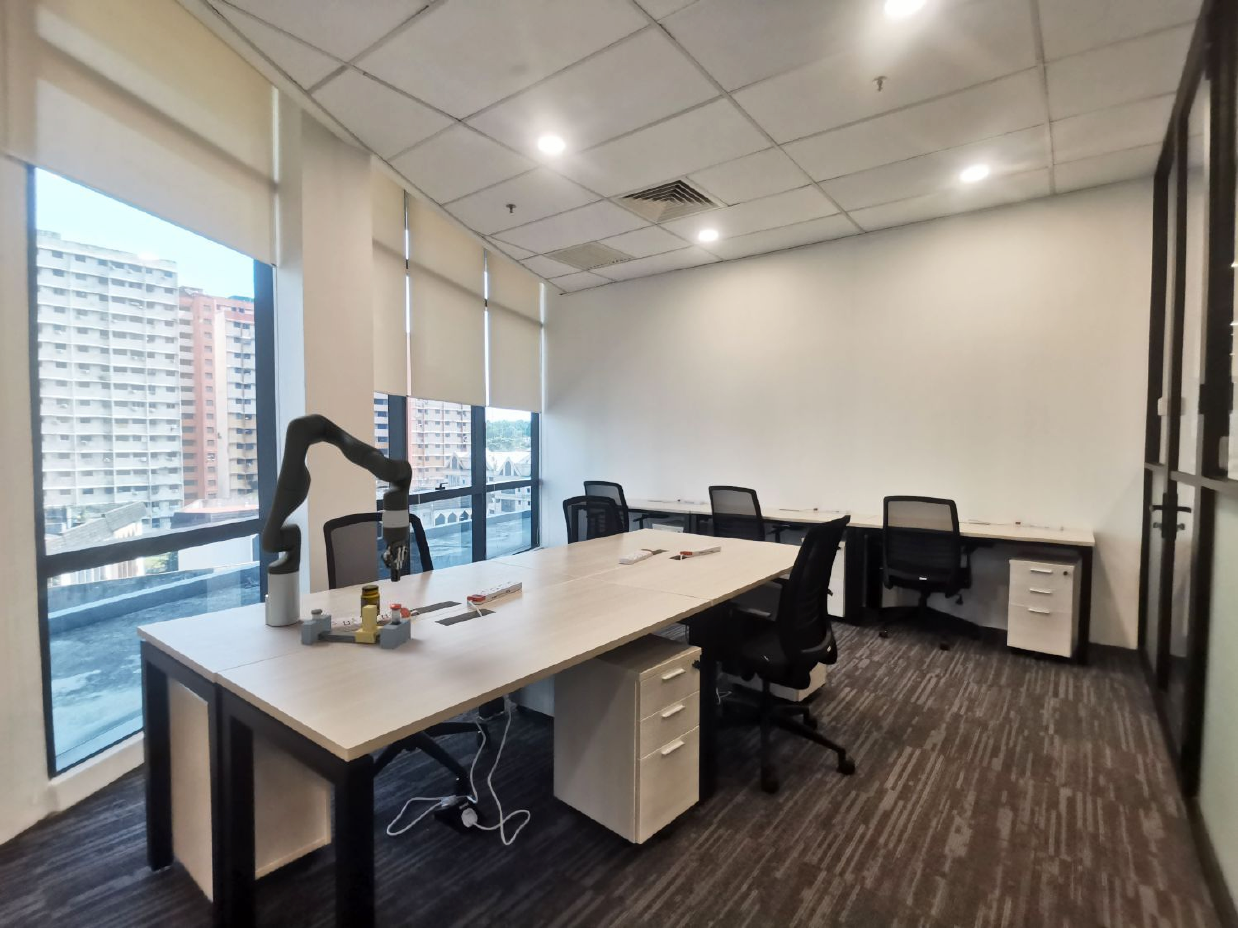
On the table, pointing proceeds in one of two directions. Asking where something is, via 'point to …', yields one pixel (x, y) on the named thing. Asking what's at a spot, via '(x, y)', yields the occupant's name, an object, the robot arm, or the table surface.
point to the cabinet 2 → (395, 634)
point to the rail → (341, 637)
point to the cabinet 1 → (315, 626)
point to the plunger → (395, 613)
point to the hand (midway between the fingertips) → (395, 581)
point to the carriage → (368, 625)
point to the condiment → (370, 597)
